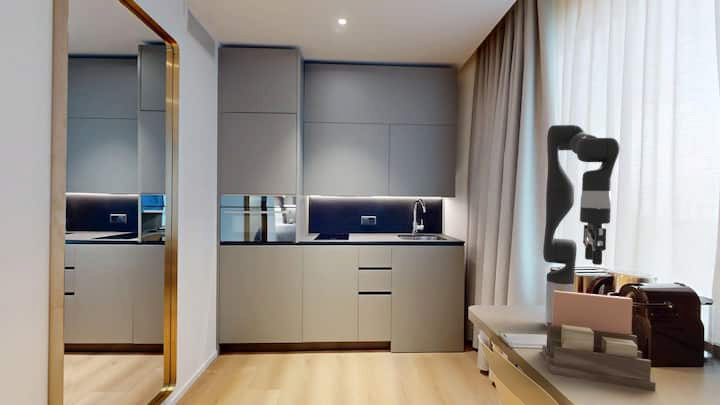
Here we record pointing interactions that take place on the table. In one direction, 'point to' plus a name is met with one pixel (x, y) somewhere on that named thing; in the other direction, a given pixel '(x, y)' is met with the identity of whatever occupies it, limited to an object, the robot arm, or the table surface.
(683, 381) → the table surface
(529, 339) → the baseboard molding
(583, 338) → the offcut stack
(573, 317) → the terracotta board
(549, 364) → the walnut rack
